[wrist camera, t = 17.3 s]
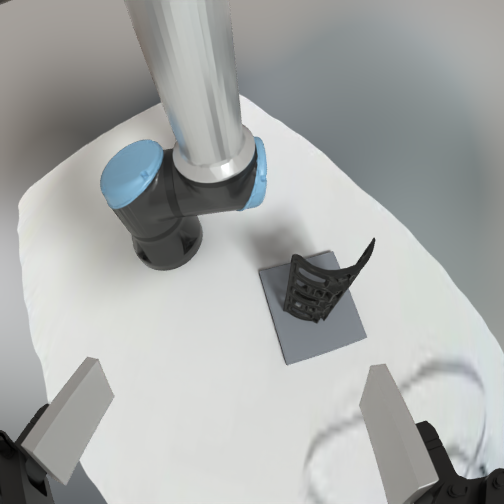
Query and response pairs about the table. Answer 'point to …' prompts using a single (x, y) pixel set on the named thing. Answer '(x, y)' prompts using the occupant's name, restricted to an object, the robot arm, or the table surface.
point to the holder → (319, 287)
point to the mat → (307, 332)
